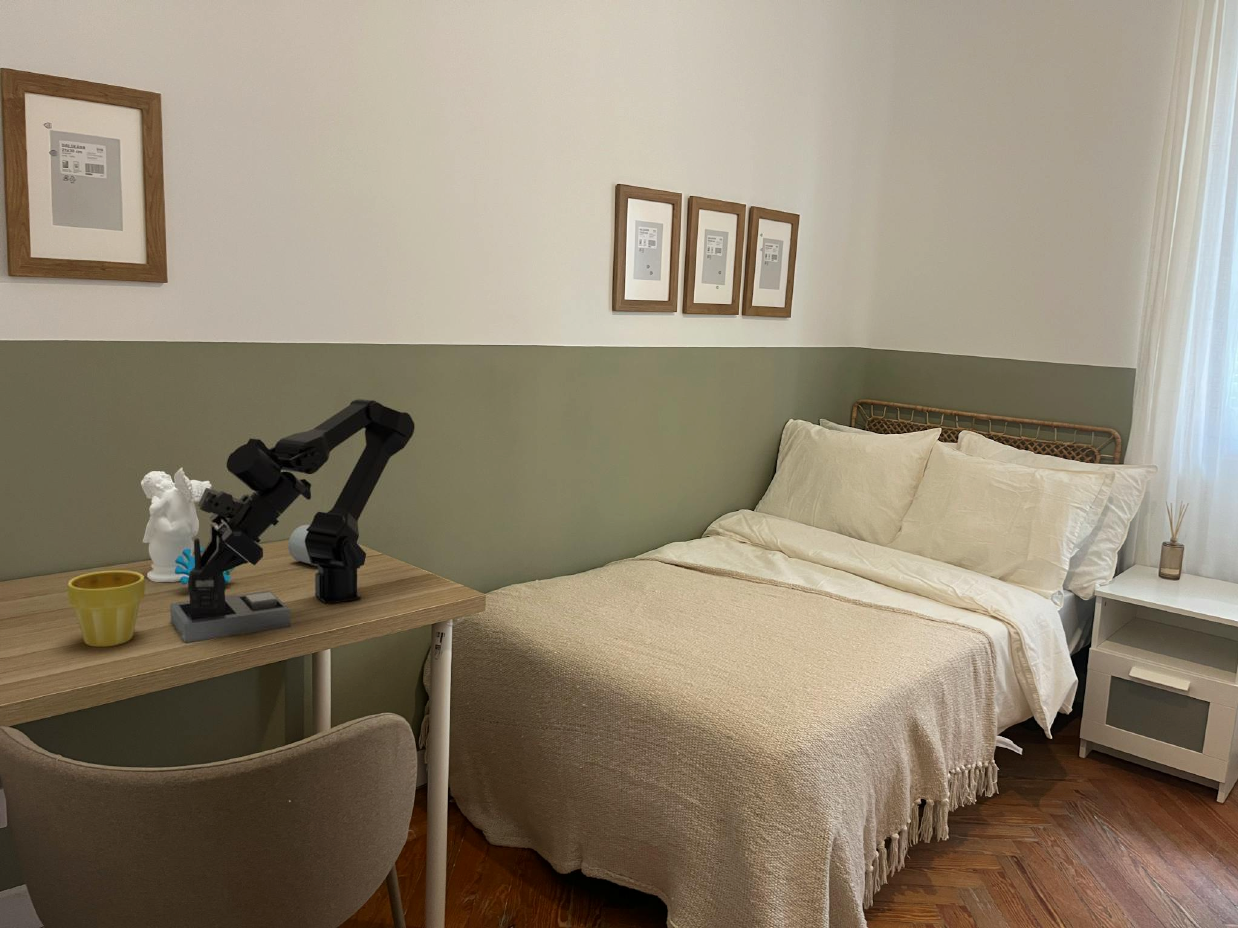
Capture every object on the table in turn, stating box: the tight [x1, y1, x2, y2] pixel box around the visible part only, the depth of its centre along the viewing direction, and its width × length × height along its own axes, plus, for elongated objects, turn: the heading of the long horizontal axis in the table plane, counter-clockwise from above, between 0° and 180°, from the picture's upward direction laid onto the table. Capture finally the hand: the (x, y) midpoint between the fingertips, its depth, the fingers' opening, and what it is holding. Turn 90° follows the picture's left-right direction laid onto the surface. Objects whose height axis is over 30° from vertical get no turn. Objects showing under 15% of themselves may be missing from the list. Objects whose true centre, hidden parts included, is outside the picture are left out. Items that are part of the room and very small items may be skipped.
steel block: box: [246, 592, 278, 611], centre depth 157 cm, size 4×4×4 cm
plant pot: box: [67, 570, 146, 648], centre depth 144 cm, size 10×10×10 cm
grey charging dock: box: [169, 590, 291, 643], centre depth 154 cm, size 16×12×3 cm
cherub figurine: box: [140, 467, 213, 583], centre depth 179 cm, size 12×12×22 cm
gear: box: [175, 545, 236, 586], centre depth 173 cm, size 11×6×10 cm
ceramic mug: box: [287, 524, 318, 567], centre depth 194 cm, size 11×8×8 cm
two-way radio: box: [187, 538, 226, 620], centre depth 151 cm, size 6×4×15 cm
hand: (197, 574), depth 150 cm, fingers open, 5 cm apart
